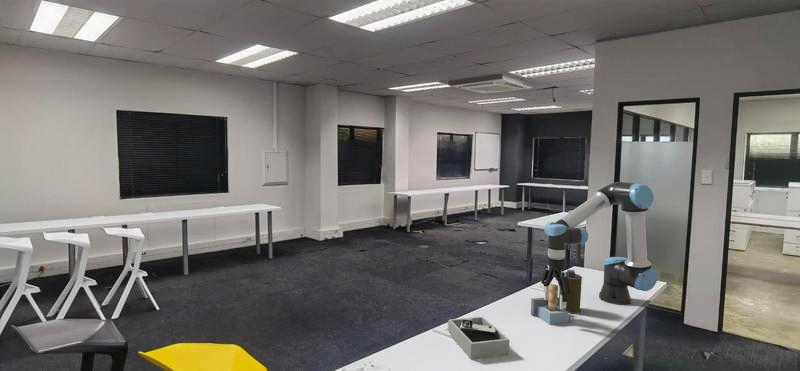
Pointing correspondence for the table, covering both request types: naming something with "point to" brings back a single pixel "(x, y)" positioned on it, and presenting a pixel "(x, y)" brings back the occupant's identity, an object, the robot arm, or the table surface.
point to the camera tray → (478, 348)
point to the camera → (478, 331)
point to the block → (552, 315)
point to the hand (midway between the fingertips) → (554, 304)
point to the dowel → (553, 297)
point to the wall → (538, 304)
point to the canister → (573, 292)
